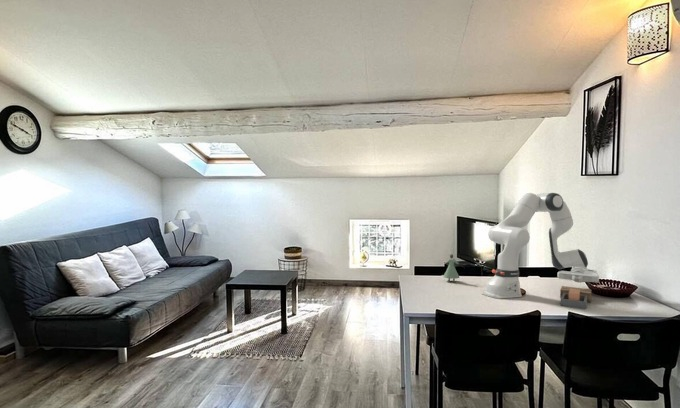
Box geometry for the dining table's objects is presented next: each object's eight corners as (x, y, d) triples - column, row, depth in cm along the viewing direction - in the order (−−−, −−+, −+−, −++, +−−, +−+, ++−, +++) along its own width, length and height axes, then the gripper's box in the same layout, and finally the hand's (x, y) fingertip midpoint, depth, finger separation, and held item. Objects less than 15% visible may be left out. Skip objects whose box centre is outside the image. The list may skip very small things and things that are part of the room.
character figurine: (464, 280, 257) (464, 253, 256) (466, 283, 249) (466, 255, 248) (439, 279, 259) (439, 252, 259) (440, 282, 251) (441, 254, 251)
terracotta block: (570, 288, 208) (568, 292, 200) (580, 289, 205) (578, 293, 197) (570, 299, 208) (568, 304, 200) (579, 301, 206) (578, 305, 197)
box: (563, 299, 212) (563, 292, 212) (587, 302, 205) (587, 295, 205) (560, 305, 199) (560, 298, 199) (585, 309, 193) (585, 302, 193)
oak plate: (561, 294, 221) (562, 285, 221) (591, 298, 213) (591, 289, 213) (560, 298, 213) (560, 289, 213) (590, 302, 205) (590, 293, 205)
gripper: (558, 267, 232) (555, 271, 221) (599, 271, 221) (598, 275, 209) (558, 277, 232) (555, 282, 221) (599, 282, 221) (598, 287, 209)
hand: (576, 279), depth 215 cm, fingers closed
